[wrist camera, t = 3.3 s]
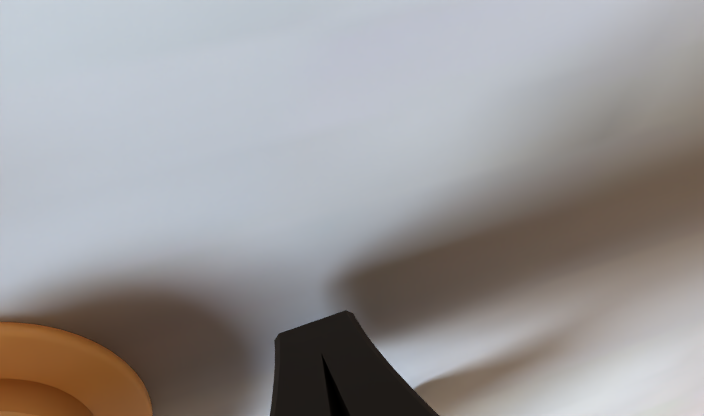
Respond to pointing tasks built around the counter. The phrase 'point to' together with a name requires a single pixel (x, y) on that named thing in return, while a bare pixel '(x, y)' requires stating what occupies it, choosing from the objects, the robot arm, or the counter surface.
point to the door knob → (64, 376)
